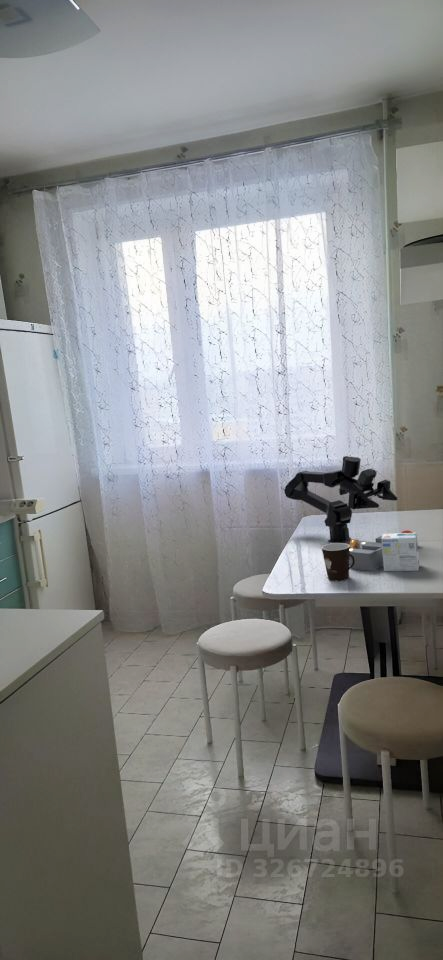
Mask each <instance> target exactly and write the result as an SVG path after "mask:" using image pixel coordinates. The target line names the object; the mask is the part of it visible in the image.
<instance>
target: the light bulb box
mask: <svg viewBox="0 0 443 960" xmlns="http://www.w3.org/2000/svg"><path fill="white" fill-rule="evenodd" d="M381 536H382V538H381V543H382V555H383V565H382V567H383V572H407V571H408V572H415V571H416V572H418V571H419V568H420V557H419V545H418V543H419V542H418V534H417V532H413V533H401V532H400V533H397V532H396V533H383V534H382V535H381Z"/></svg>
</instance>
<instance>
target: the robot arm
mask: <svg viewBox="0 0 443 960" xmlns="http://www.w3.org/2000/svg"><path fill="white" fill-rule="evenodd" d="M360 467H361V458H359V457H357V456H348V455H346V456H345V455H344V456H343V457H342V468H341V469H339V470H333V471H330V472H329V471H328V472H324V471H323V472H322V471H320V472H319V471H310V470H309V471H308V470H304V471H298V472H297V473H296V474H295V476H294V477H293V478H292V479H291V480H290V481H289V482H288V483H286V486H285V487H284V495H285V497H286V498H287V499H290V500H294V501H302V502H304V503H306V504H308V505H310V506H312V507H314V508H315V509H317V510H319V511H321V512H323V513H325V515H326V518H325V519H324V524H325V527H328V529H329V539H328V540H327V542H331V543H345V542H346V541H349V540H352V537H350V531H349V528H348V524H350V523H351V520H352V517H353V511H354V510H359V509H360V510H361V509H374V508H378V509H379V507H380V504H379V503H378V502H376V501H374V500H373V499H372V498H375V497H377V498H378V499H382V500H384V501H394V502H395V501H398V497H397V496H396V494H394V493H393V491H392V489H391V481H390V480H387V479H384V480H381V481H378V482H377V484H376V488H374V484H375V483H374V482H373V481H374V479H375V478H376V476H377V474H378V473H377V471H376V470H375V469H373V468H367V469H364V470H362V471H361V472H360V470H361V469H360ZM357 476H358V478H357V479H356V477H357ZM309 483H313V484H314V483H316V484H323V485H324V486H325V487H328V488H332V489H333V488H335V487H339V488H338V491H339V495H340V496H344V495H347V494H348V503H345V502H343V501H342V500H340V499H339V500H335V501H330V500H328V499H326V498H324V497H323V496H321V495H318V494H316V493H314V492H312V491H310V489H309V488H308V487H309ZM352 510H353V511H352Z"/></svg>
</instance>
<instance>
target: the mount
mask: <svg viewBox="0 0 443 960" xmlns="http://www.w3.org/2000/svg"><path fill="white" fill-rule="evenodd" d="M382 536H383V535H380V536H378V537H376V538H375V542H373V541H368V543H366V544H363V545H362V549H353V550H351V551H350V554H351V555H353V557H354V560H355V563H354V565H353V567H352V568H351V569H353V570H354V569H355V570H362V571H369V572H373V571H374V570H376V569H378V568H380V567H383V555H382V543H381V538H382ZM352 563H353V560H352V558H351V556H350V557H349V567H350V566H351V565H352ZM351 569H350V570H351Z"/></svg>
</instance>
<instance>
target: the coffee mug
mask: <svg viewBox="0 0 443 960" xmlns="http://www.w3.org/2000/svg"><path fill="white" fill-rule="evenodd" d="M321 551H322V557H323V561H324V566H325V569H326V570H325V571H326V575H327V576H326V577H327V579H328V581H331V582H341V581H342V580H343V581H346V580H348V579H349V578H350V570H351V568H352V567H353V565H354V563H355V560H354V557H353V555H351V554H350V545H349V544H348V543H345V542H342V543H341V542H332V543H329V544H328V543H327V544H323V545H322V546H321ZM350 556H351V558H352V560H353V563H352V565H351V566H350V561H349V557H350Z"/></svg>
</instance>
